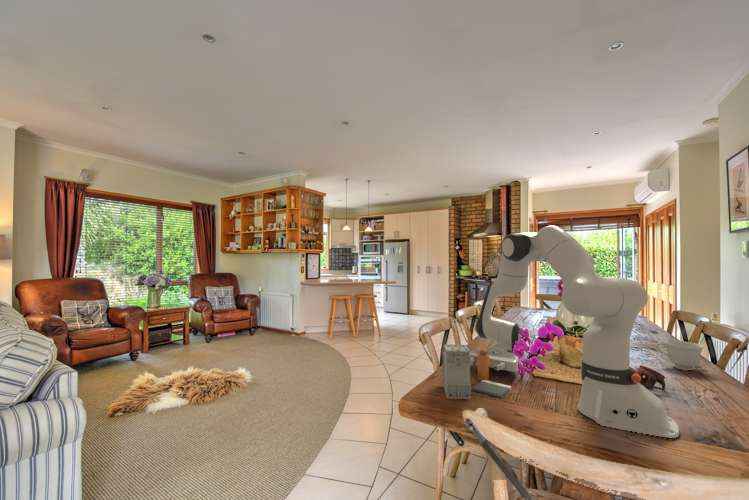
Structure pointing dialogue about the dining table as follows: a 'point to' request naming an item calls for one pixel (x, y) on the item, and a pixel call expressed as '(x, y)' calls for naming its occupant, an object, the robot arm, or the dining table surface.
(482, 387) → the tag pad
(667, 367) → the dining table surface
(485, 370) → the lockout cap
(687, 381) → the dining table surface
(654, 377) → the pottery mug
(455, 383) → the circuit breaker
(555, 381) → the dining table surface
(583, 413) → the robot arm
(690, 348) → the teacup
